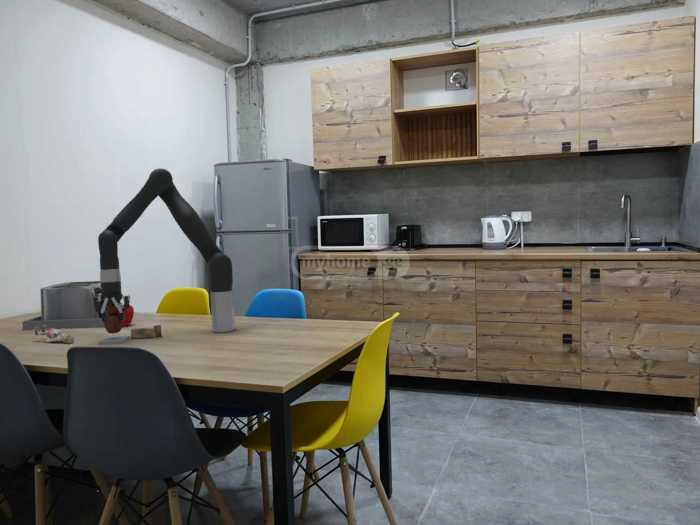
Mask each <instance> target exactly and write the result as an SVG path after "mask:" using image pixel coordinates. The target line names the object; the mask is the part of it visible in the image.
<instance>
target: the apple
mask: <svg viewBox="0 0 700 525" xmlns="http://www.w3.org/2000/svg"><path fill="white" fill-rule="evenodd" d="M121 303H122V305H123V308H124V302H121ZM119 313H120V312H118V313H117V314H119ZM134 314H135V308H134V307H133V306H132V305H131V304H129V310H127V311H125V312H124V315H125V319H124V320H123V322H122V328H123V327H128V326H129V325H131V324H132V321H133V318H134Z"/></svg>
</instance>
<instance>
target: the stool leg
mask: <svg viewBox="0 0 700 525" xmlns="http://www.w3.org/2000/svg"><path fill="white" fill-rule="evenodd" d="M162 334H163V333H162V325H161V324H156V325H155V324H154V325H153V327H135V328H134V327H133V328H131V329H130V339H136V338H137V339H139V338H141V339H142V338H152V337H161V336H163V335H162Z"/></svg>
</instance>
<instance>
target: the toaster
mask: <svg viewBox="0 0 700 525" xmlns="http://www.w3.org/2000/svg"><path fill="white" fill-rule="evenodd" d="M101 294H102V293H101V282H100V280H92V281H68V282H67V281H65V282H62V283H57V284H56V283H55V284H51V285H49V286H44V287H41V288H40V316H41V321H44V320H73V319H102V316H101V313H100V312H96V308H95V304H94V297H100V296H101ZM103 303H104V302H103V301H102V299H101V301H100V304H101V309H102V306H103ZM106 313H107V312H106ZM107 315H109V314H107Z"/></svg>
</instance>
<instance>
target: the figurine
mask: <svg viewBox="0 0 700 525" xmlns="http://www.w3.org/2000/svg"><path fill="white" fill-rule="evenodd" d="M45 335H46V337H47V338H48V339H47V338H45V339H44V340H43V341H44V343H46V342H47V343H51V342H62V344H64V343H65V344H67V345H69V343H70V344H73V343H74V342H75V336H74V335H71V334H66V333H65V332H64V330H60V329H55V328H51V329H47V326H46V325H43V326H42V329H41V330H40V327H35V330H34V336H45Z"/></svg>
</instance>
